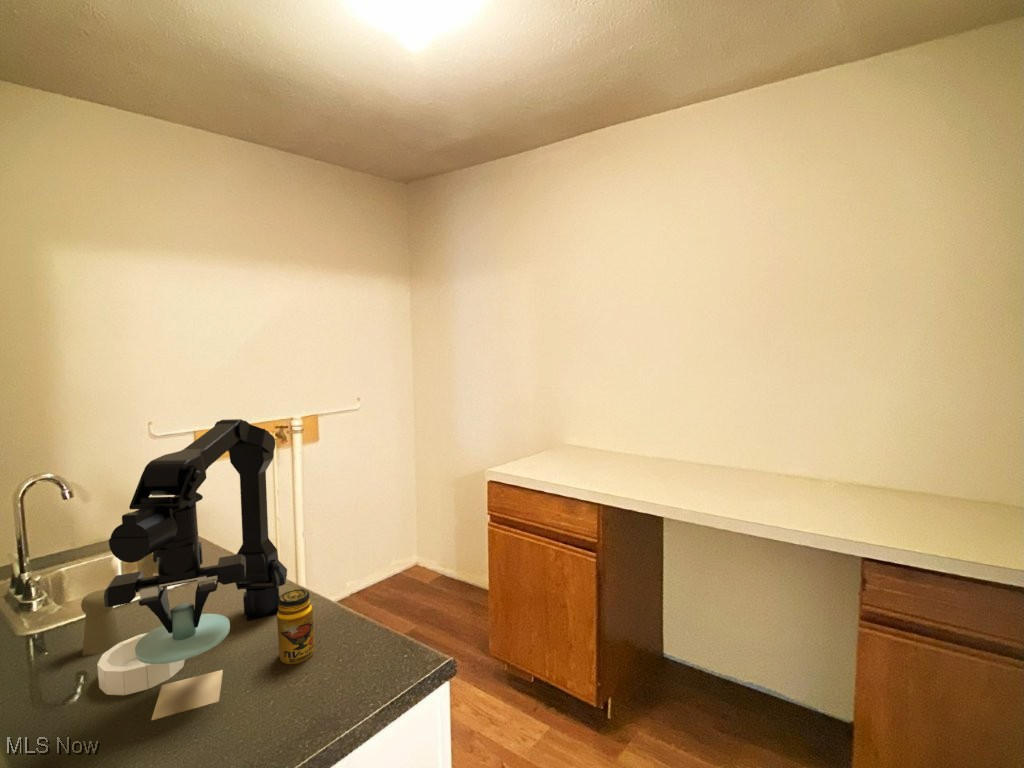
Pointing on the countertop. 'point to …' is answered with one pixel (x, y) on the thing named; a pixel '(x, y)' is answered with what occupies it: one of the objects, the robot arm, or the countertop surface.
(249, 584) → the robot arm
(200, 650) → the lid
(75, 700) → the countertop surface
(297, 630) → the condiment
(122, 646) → the bowl
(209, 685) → the plate
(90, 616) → the pepper shaker
